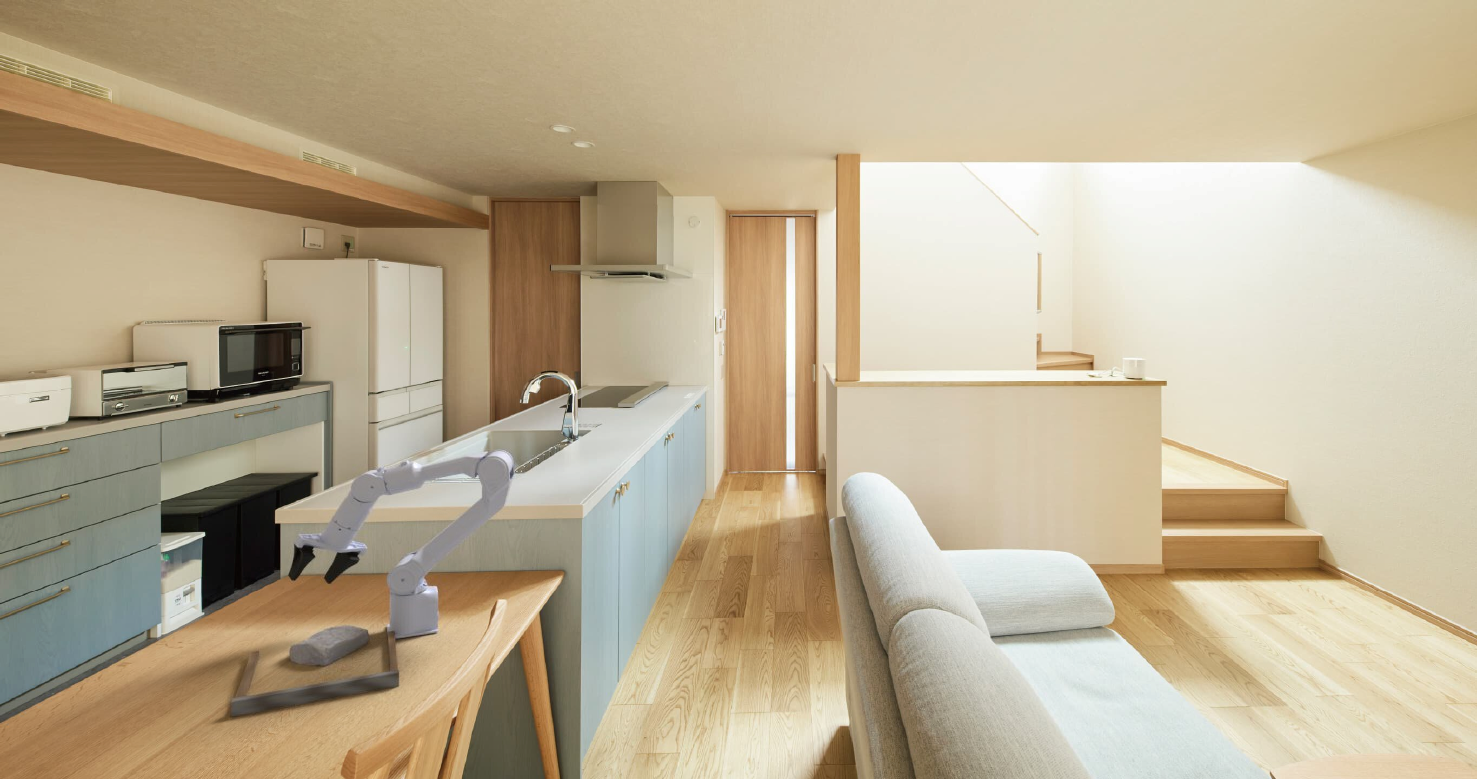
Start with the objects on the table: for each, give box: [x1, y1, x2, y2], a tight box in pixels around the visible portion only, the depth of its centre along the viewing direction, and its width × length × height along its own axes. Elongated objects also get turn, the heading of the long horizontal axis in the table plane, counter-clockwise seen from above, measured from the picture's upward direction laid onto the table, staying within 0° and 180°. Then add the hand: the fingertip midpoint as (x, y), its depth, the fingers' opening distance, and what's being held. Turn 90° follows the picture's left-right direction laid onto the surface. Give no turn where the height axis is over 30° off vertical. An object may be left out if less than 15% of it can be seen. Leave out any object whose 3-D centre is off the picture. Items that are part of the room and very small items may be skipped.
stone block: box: [289, 624, 370, 667], centre depth 135 cm, size 12×5×10 cm
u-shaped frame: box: [230, 631, 400, 718], centre depth 126 cm, size 24×23×2 cm
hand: (309, 579), depth 141 cm, fingers open, 7 cm apart
